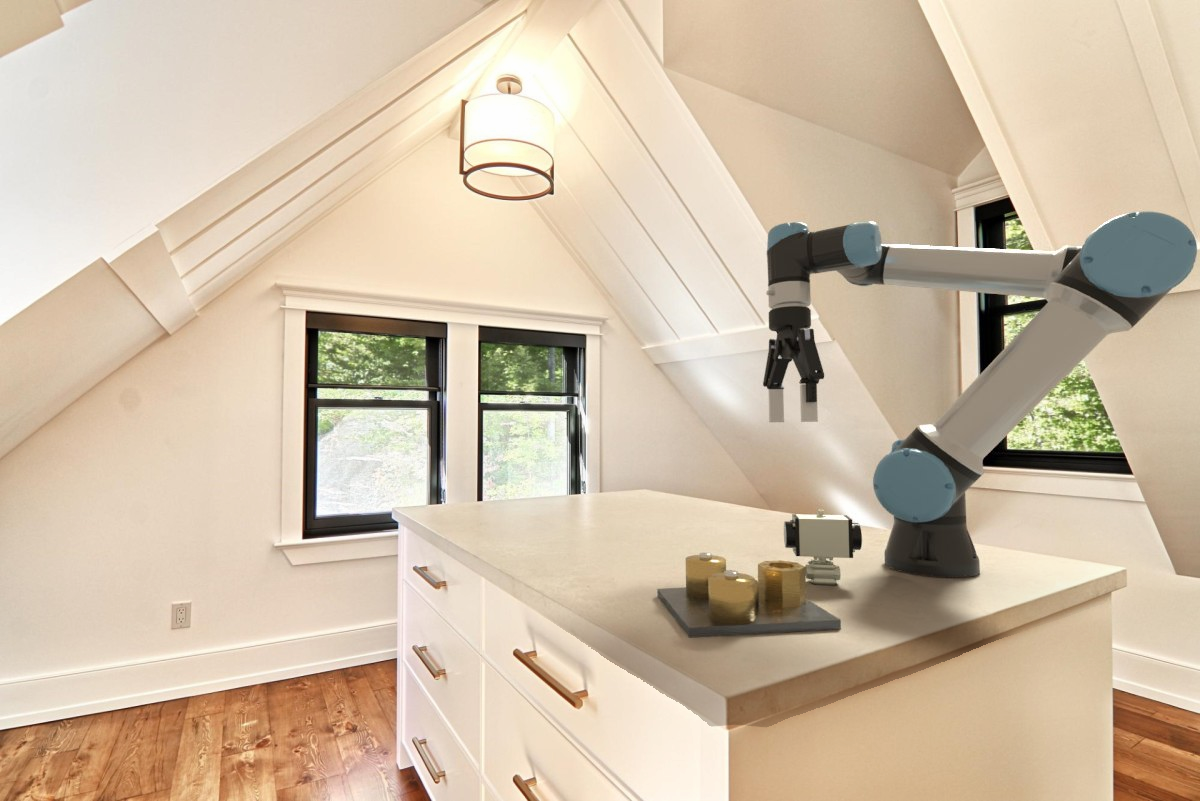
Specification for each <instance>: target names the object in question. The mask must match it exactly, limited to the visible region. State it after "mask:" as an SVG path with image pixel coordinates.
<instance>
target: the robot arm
mask: <svg viewBox="0 0 1200 801" xmlns="http://www.w3.org/2000/svg"><path fill="white" fill-rule="evenodd" d="M881 234H882V233H881V231H880V227H879V225H878V224H877V223H876V222H875V221H865V222H862V221H861V222H852V223H850V224H847V225H842V226H837V227H836V226H835V227H832V228H826V229H822V230H818V231H817V230H816V231H810V230H809V226H808V225H807V224H806V223H803V222H801V221H800V222H798V221H797V222H796V221H795V222H785V223H780V224H776V225H775V226H773V227H772V228H771V229H770V230H769V231H768V234H767V243H766V244H767V250H766V259H767V261H766V262H767V287H768V288H767V291H766V292H765V293H766V295H767V296H768V307H769V309H770V310H769V312H768V329H769V331H772V332H776V338H770V339H769V340H768V353H767V358H766V365H765V368H764V369H765V370H764V377H763V381H762V386H763V387H766V389H767V390H768V412H769V413H768V418H769V419H768V421H769V423H785V414H784V413H785V412H784V406H785V404H784V389H785V386H784V385H783V383H784V378H785V376H786V373H787V369H788V367H789V364H790V362H792V361H793V362H794V365H795V368H796V370H797V372H798V375H799V377H800V380H799V384H800V385H799V391H800V393H799V394H800V395H799V396H800V422H801V423H805V422H807V423H812V422H813V423H814V422H815V423H816V422H819V420H818V416H819V414H818V413H819V412H818V384H819V382H820V380H824V379H825V372H824V368H823V365H822V362H821V358H820V356H819V354H820V353H819V351H818V347H817V344H816V342H815V341H816V340H815V331H814V329H813V328H811V326H812V314H811V312H812V311H811V310H812V309H810V306H811V301H812V300H811V299H812V298H811V296H812V295H811V278H810V277H811V275H813V274H821V273H827V272H835V271H836V272H838V274H840V275H841V276H842V277H843V278H844V279H845V280H846V281H847V282H849V283H850V284H852V285H854V286H858V287H870V286H872V285H882V286H883V285H886V286H899V287H911V288H921V289H922V288H923V289H932V290H933V289H934V290H946V291H947V290H948V291H955V292H956V291H957V292H958V291H959V292H969V293H971V292H972V293H978V294H980V293H982V294H991V295H993V294H995V295H996V294H997V295H1003V296H1004V295H1006V296H1017V297H1026V298H1027V297H1028V298H1041V299H1044V300H1046V301H1047V303H1045V305H1044V306H1043V307H1042V308H1040V310H1039V311H1038V312H1037V314H1036V315H1034V317H1032V319H1031V320H1030V321H1029V322H1027V324H1026V325H1025V327H1023V329H1022V330H1020V332H1018V334H1017V335H1016V336H1015V337H1014V338H1012V340H1011V341H1010V342H1009V343H1008V344H1007V345H1006V347H1004V349H1002V351H1000V352H999V354H998V355H997V356H996V357H995V358H994V359H993V360H992V362H990V364H988V366H987V367H986V368H985V369H984V370H983V371H982V372H981V373H980V374H979V375H978V376H977V377H976V378H975V379H974V381H972V382H971V384H970V385H969V386H968V387H967V388H966V389H965V390H964V391H963V392H962V393H961V394H960V395H959V396H958V397H957V398H956V399H955V400H954V402H953V403H952V404H951V405H949V407H947V409H946V410H945V411H944V412H943V414H941V416H939V418H937V420H936V421H934V423H930V424H918V426H916V427H915V429H913V430H912V431H911V433H910V434H909V435H908V436H907V437H906V438H904V439H897V440H895V441H894V442H893V443H892V444H891V451H890V452H889V453H888V454H885V456H883V457H882V459H881V460H880V461H878V464H877V466H876V468H875V471H874V472H873V476H872V477H873V479H872V485H873V486H872V487H873V492H874V494H875V496H876V499H877V501H878V503H879V504H880V505H881V506H882V508H883V509H884V510H886V511H887V512H888V513H889V514H891V515H892V516H893V524H892V528H891V531H890V533H889V538H888V541H887V544H886V547H885V550H884V554H883V555H884V565H885V566H886V567H888V568H890V569H893V570H897V571H899V572H904V573H907V574H913V575H917V576H918V575H919V576H925V577H926V576H929V577H936V578H937V577H939V578H967V577H974V576H977V575H979V574H980V572H981V565H980V564H981V563H980V558H979V556H978V555H977V551H976V548H975V545H974V543H973V540H972V538H971V535H970V532H969V530H968V527H967V507H966V504H967V503H966V500H967V499H966V491H968V490H969V489H970V488H971V486H973V485H974V484H975V483H976V482H977V481H978V480H979V479H980V478H981V477H982V476H983V475H984V464H983V460H984V458H985V457H986V456H988V454H989V453H991V451H993V449H994V448H996V447H997V446H998V445H999V443H1001V442H1002V441H1003V439H1004V438H1006V437H1007V435H1009V434H1010V433H1011V432H1012V431H1013V430H1014V429H1015V428H1016V427H1017V426H1018V425H1019V424H1020V423H1021V422H1022V421H1023V420H1024V419H1025V418H1026V417H1027V416H1028V415H1029V414H1030V413H1031V412H1033V410H1034V408H1036V407H1037V406H1038V405H1039V404H1040V403H1041V402H1042V401H1043V400H1044V399H1045V398H1047V396H1048V395H1049V394H1050V393H1051V392H1052V391H1053V390H1054V389H1055V388H1056V387H1057V386H1058V385H1059V384H1060V383H1061V382H1062V381H1063V380H1064V379H1065V378H1066V377H1067V376H1068V375H1069V374H1070V373H1071V372H1072V371H1073V370H1074V369H1075V368H1076V367H1077V366H1078V365H1079V364H1080V363H1081V362H1082V361H1083V360H1084V359H1085V358H1086V357H1087V356H1088V355H1089V354H1090V353H1091V352H1092V351H1093V350H1094V349H1095V348H1096V347H1097V346H1098V345H1099V344H1100V343H1101V342H1102V341H1103V340H1104V339H1105V338H1107V337H1108V335H1110V334H1114V333H1121V332H1129V331H1130V330H1131V329H1133V328H1134V327H1135V325H1137V324H1138V323H1139V322H1140V321H1141V320H1142V319H1143V318H1144V317H1145V316H1146V315H1147V314H1148V313H1149V312H1150V311H1151V310H1152V309H1153V308H1154V307H1155V306H1156V305H1157V304H1158V303H1160V301H1161V300H1162V299H1163V298H1164V297H1165V296H1166V295H1167V294H1169V292H1171V290H1172V289H1173V288H1174V289H1175V287H1177V286H1179V285H1180V284H1181V283H1182V282H1183V281H1184V280H1185V279H1186V278H1187V277H1188V276H1189V275H1190V274H1191V272H1192V270H1193V268H1194V266H1195V262H1196V259H1197V255H1198V254H1197V253H1198V247H1197V246H1198V245H1197V244H1198V243H1197V240H1196V237H1195V236H1194V233H1193V231H1192V230H1191V229H1190V228H1189V226H1188V225H1187V224H1185V222H1182V221H1181V220H1180V219H1178V218H1177V217H1174V216H1171V215H1169V214H1167V213H1163V212H1158V211H1146V210H1145V211H1136V212H1135V211H1134V212H1129V213H1125V214H1122V215H1118V216H1115V217H1113V218H1111V219H1109V220H1108V221H1106V222H1104V223H1103V224H1101V225H1099V227H1097V228H1096V229H1095V230H1093V231H1092V232H1091V233H1090V234H1089V235H1088V236H1087V238H1086V239H1085V241H1084V243H1083V245H1078V246H1077V245H1064V246H1063V247H1061V248H1060V249H1057V250H1056V251H1050V250H1049V251H1045V250H1028V249H1027V250H1025V249H1022V250H1021V249H1000V248H981V247H980V248H978V247H977V248H976V247H955V246H954V247H953V246H933V245H931V246H930V245H914V244H913V245H912V244H911V245H910V244H885V243H884V244H883V243H882V242H883V241H882V236H881Z"/></svg>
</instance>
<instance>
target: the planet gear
mask: <svg viewBox="0 0 1200 801" xmlns="http://www.w3.org/2000/svg"><path fill="white" fill-rule="evenodd" d="M806 579H807V578H806V574H805V565H803V564H802V563H799V562H796V561H787V560H781V559H780V560H779V559H778V560H764V561H762V562H760V563H757V581H758V586H759V600H760V601H762V602H763V603H764V604H766V605H771V606H777V607H782V608H785V607H800V606H802V605H803V604H805V603H806V599H807V585H806V584H807V583H806V582H807V581H806Z"/></svg>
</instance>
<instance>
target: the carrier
mask: <svg viewBox="0 0 1200 801" xmlns="http://www.w3.org/2000/svg"><path fill="white" fill-rule="evenodd" d="M656 594H657V598H658V600H659V601H660V602H661V603H662V604H663V606H664V607H665V608H666V610H667V611H668V613H669V614H670V615H671V616H672V618H673V619H674V620H675V621H676V622H677V624H678V625H679V626H680V628H681V629H682V630H683V632H684V633H685V634H686V636H688V638H691V639H692V638H704V637H705V638H706V637H707V638H708V637H721V636H722V637H725V636H741V635H742V636H744V635H760V634H778V633H779V634H780V632H781V633H796V632H798V633H799V632H815V631H829V630H830V631H831V630H835V631H836V630H842V625H841V624H842V623H841V622H842V621H841V619H840V618H838V617H837V616H835V615H834V614H832V613H830V612H829V611H827V610H825V609H824V608H822V607H821V606H819V605H818V604H816V603H814V602H813V601H811V600H809V599H808V598H806V603H805V604H803V605H802V606H800V607H785V608H782V607H777V606H771V605H766V604H764V603H763V602H762V601H760V600H759V586H758V579H755V577H754V576H752V575H750V574H746V573H741V572H740V573H739V571H738V570H732V569H729V570H728V569H727V559H726V558H725V557H723V556H719V555H714V554H712V553H710V552H700V553H699V554H695V555H689V556H687V557H685V587H669V588H668V587H665V588H657V591H656Z"/></svg>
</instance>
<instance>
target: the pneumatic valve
mask: <svg viewBox="0 0 1200 801" xmlns="http://www.w3.org/2000/svg"><path fill="white" fill-rule="evenodd" d="M783 522H784V523H783V540H784V547H785V548H786V549H792V552H793V554H794V555H795V557H803V558H806V557H807V558H808V557H809V558H810V557H811V558H812V557H813V559H811V560H808V561H807V563H806V564H805V565H804V566H805V574H806V579H807V580H810V583H811V584H813V585H818V586H835V585H837V581H840V580H841V568H840V566H839V565H836V564H835V563H834V558H837V559H839V558H840V559H844V558H845V559H854V553H855V552H856V551H861V549H862V545H863V536H862V535H863V534H862V529H861V525H860V523H859V522H853V519H852V518H850V516H848V515H841V514H840V515H839V514H825V510H824V509H818V510H817V514H798V513H797V514H796V513H794V514H793V513H792V514H791V519H790V520H789V521H785V520H784V521H783ZM827 559H828V560H827Z"/></svg>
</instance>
